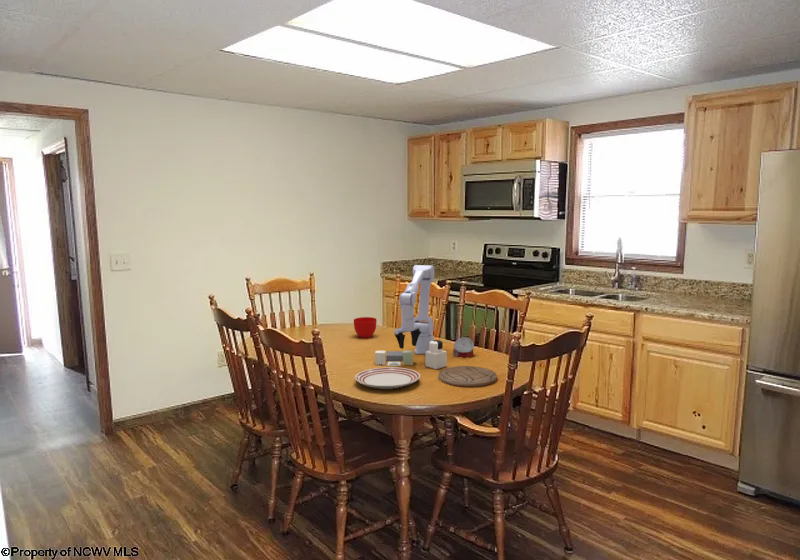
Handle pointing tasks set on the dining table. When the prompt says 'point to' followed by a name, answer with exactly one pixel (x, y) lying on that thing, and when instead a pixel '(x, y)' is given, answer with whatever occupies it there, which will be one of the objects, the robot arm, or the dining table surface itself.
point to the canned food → (463, 347)
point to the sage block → (408, 357)
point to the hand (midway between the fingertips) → (407, 347)
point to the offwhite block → (380, 357)
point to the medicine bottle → (436, 355)
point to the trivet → (467, 376)
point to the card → (394, 363)
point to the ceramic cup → (365, 326)
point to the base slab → (394, 356)
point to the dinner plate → (387, 377)
